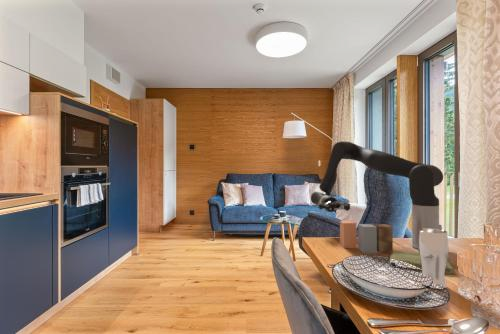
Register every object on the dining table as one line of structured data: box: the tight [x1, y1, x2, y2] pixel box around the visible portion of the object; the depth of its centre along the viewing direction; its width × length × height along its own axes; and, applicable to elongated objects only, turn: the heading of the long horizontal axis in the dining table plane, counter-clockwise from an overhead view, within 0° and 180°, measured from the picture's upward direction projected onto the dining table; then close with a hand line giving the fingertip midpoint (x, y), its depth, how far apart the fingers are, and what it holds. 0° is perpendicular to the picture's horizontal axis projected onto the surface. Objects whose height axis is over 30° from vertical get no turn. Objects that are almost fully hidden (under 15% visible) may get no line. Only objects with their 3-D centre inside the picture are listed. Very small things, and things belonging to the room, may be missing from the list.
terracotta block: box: [339, 220, 357, 249], centre depth 115 cm, size 5×5×10 cm
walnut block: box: [372, 223, 394, 254], centre depth 108 cm, size 5×5×10 cm
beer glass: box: [418, 228, 449, 288], centre depth 77 cm, size 7×7×15 cm
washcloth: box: [389, 251, 455, 275], centre depth 93 cm, size 13×18×3 cm
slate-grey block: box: [357, 223, 378, 254], centre depth 108 cm, size 5×5×10 cm
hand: (338, 208), depth 127 cm, fingers open, 8 cm apart
